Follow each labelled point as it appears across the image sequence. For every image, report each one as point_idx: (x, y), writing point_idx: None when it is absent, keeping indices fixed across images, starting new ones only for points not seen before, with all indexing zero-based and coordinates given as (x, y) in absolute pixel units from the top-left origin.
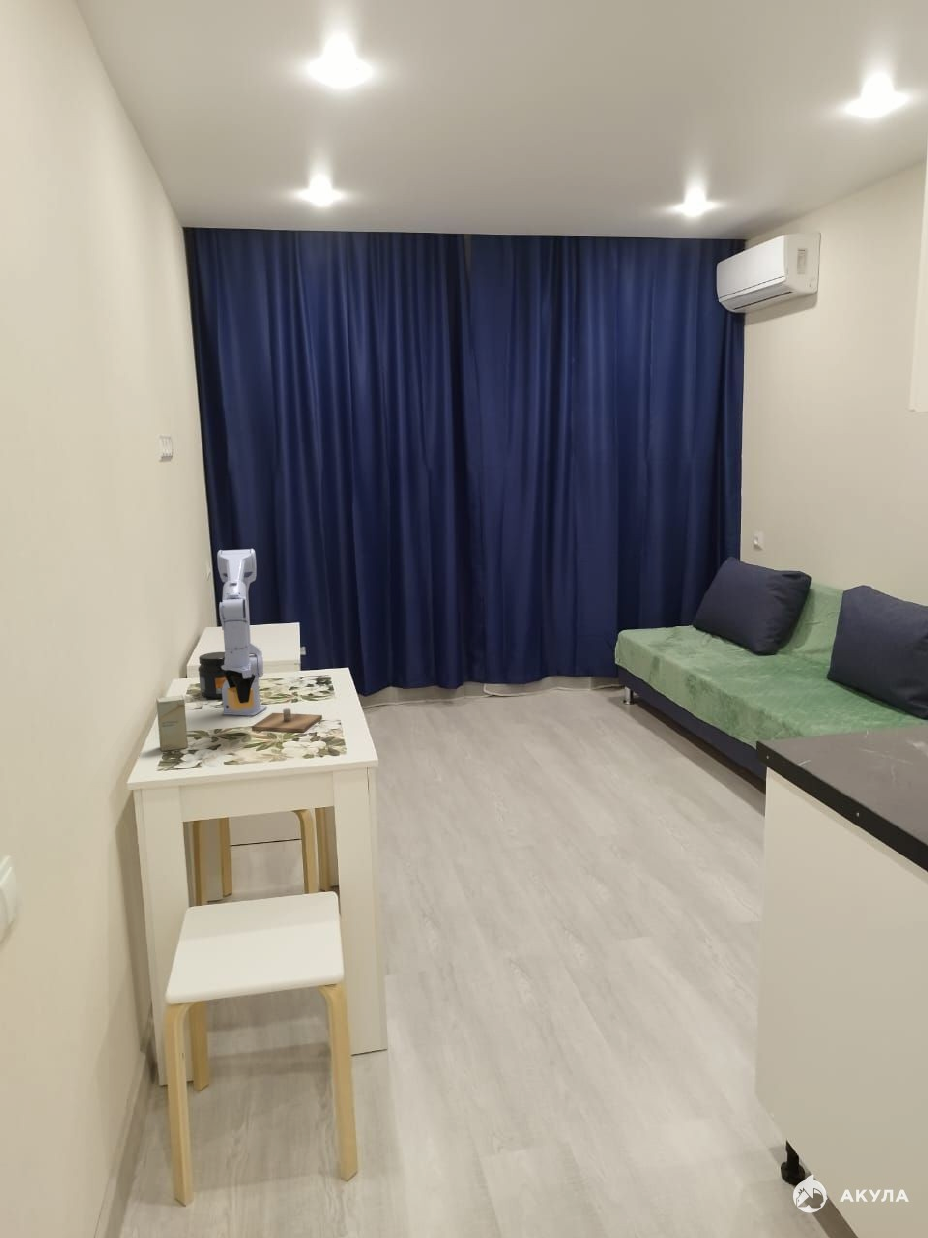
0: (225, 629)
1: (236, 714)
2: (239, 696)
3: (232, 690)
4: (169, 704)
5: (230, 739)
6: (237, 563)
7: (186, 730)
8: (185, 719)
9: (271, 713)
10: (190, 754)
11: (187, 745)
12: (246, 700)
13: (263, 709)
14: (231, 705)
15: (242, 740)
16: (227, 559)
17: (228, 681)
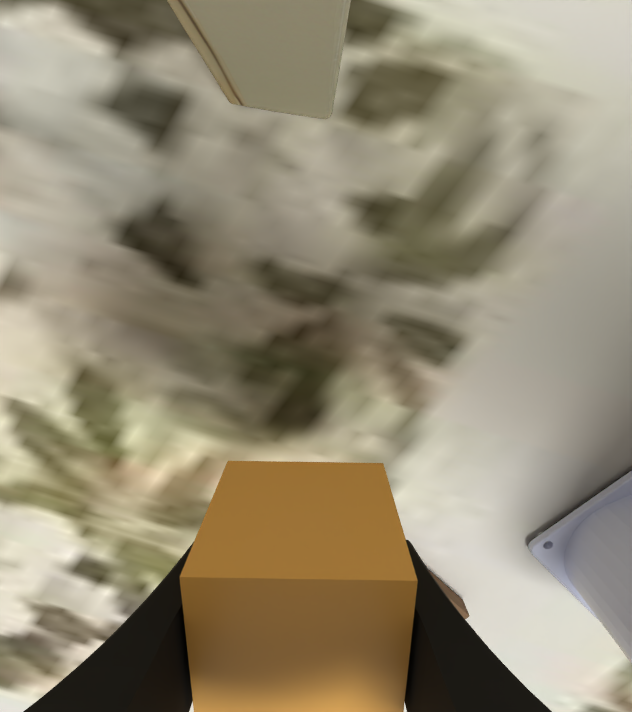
0: None
1: (604, 490)
2: (161, 585)
3: (278, 598)
4: None
5: (245, 351)
6: None
7: (202, 57)
8: (169, 2)
9: (460, 608)
10: (101, 83)
11: (227, 98)
12: None
13: (581, 602)
14: (295, 474)
15: (196, 393)
16: None
17: (466, 684)
